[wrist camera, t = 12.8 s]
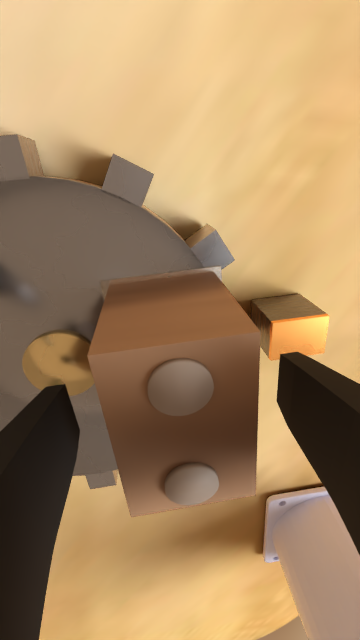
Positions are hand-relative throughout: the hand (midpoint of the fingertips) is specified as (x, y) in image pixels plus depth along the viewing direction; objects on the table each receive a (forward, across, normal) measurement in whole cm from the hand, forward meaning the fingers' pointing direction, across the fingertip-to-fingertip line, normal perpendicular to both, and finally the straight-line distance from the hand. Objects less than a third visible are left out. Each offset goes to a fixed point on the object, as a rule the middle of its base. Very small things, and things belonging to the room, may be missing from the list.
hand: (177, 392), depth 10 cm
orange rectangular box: (+5, -5, 0) cm, 7 cm away
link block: (+3, 0, 0) cm, 3 cm away
